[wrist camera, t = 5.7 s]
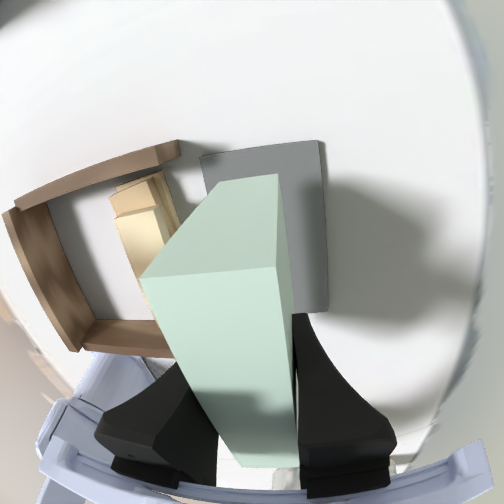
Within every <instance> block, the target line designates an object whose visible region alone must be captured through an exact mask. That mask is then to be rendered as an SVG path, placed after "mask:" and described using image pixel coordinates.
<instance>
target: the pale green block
mask: <svg viewBox="0 0 504 504" xmlns="http://www.w3.org/2000/svg"><path fill="white" fill-rule="evenodd" d="M139 280H140V283H141V285H142V288H143V290H144V293H145V295H146V297H147V300H148V302H149V304H150V307H151V309H152V311H153V313H154V316H155V318H156V320H157V322H158V324H159V326H160V329H161V331H162V333H163V335H164V337H165V339H166V341H167V343H168V345H169V347H170V349H171V351H172V353H173V355H174V357H175V359H176V361H177V363H178V365H179V367H180V369H181V371H182V372H183V374H184V376H185V378H186V380H187V382H188V383H189V385H190V387H191V389H192V391H193V392H194V394H195V396H196V398H197V399H198V401H199V403H200V404H201V406H202V408H203V409H204V411H205V413H206V414H207V416H208V418H209V419H210V421H211V422H212V424H213V426H214V427H215V429H216V430H217V432H218V433H219V435H220V436H221V438H222V440H223V441H224V443H225V444H226V445H227V447H228V448H229V450H230V451H231V453H232V454H233V456H234V457H235V458H236V460H237V461H238V463H239V464H240V465H241V467H252V468H287V467H299V465H300V462H299V452H298V380H297V373H296V364H295V353H294V343H293V333H292V314H295V308H294V298H293V289H292V279H291V270H290V261H289V253H288V244H287V236H286V228H285V220H284V212H283V205H282V198H281V190H280V183H279V176H278V174H270V175H262V176H255V177H248V178H241V179H234V180H228V181H222V182H219V183H218V184H217V185H216V186H215V187H214V188H213V189H212V190H211V191H210V193H209V194H208V195H207V196H206V197H205V198H204V199H203V201H202V202H201V203H200V204H199V205H198V206H197V207H196V209H195V210H194V211H193V212H192V213H191V214H190V216H189V217H188V218H187V219H186V220H185V221H184V223H183V224H182V225H181V226H180V227H179V229H178V230H177V231H176V232H175V233H174V235H173V236H172V237H171V238H170V240H169V241H168V242H167V243H166V245H165V246H164V247H163V248H162V249H161V251H160V252H159V253H158V255H157V256H156V257H155V258H154V260H153V261H152V262H151V263H150V265H149V266H148V267H147V269H146V270H145V271H144V272H143V274H142V275H141V276H140V278H139Z"/></svg>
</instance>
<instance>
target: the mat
mask: <svg viewBox="0 0 504 504" xmlns="http://www.w3.org/2000/svg"><path fill="white" fill-rule="evenodd" d="M200 163H201V168H202V172H203V177H204V182H205V186H206V191H207V195H208V194H209V193H210V191H211V190H212V189H213V188H214V187H215V186H216V185H217V184H218V183H219V182H222V181H228V180H234V179H241V178H248V177H255V176H262V175H270V174H278V176H279V183H280V190H281V198H282V205H283V212H284V220H285V228H286V236H287V244H288V253H289V261H290V270H291V279H292V289H293V298H294V308H295V314H296V313H317V312H326V311H328V266H327V242H326V224H325V209H324V196H323V185H322V174H321V164H320V155H319V147H318V141H317V140H311V141H301V142H291V143H282V144H274V145H267V146H260V147H253V148H246V149H240V150H234V151H228V152H222V153H217V154H211V155H206V156H202V157H200Z"/></svg>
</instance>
